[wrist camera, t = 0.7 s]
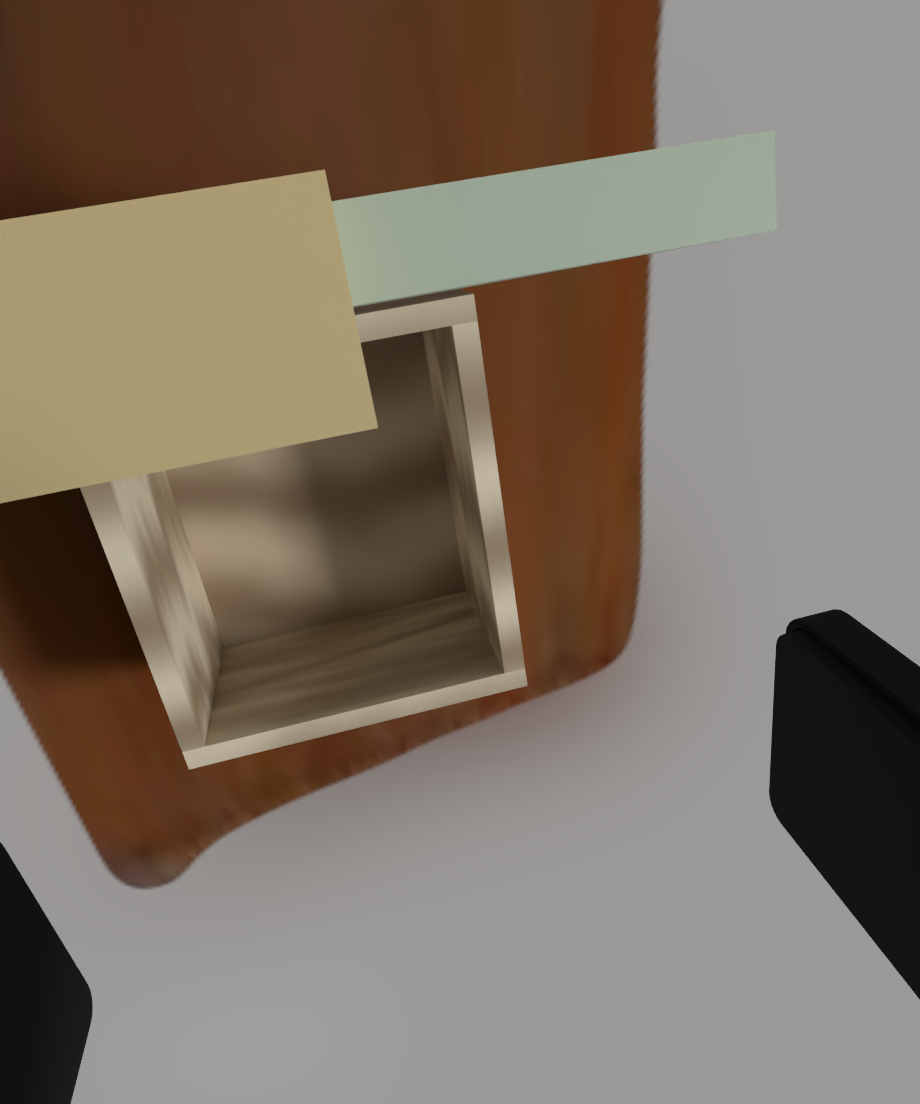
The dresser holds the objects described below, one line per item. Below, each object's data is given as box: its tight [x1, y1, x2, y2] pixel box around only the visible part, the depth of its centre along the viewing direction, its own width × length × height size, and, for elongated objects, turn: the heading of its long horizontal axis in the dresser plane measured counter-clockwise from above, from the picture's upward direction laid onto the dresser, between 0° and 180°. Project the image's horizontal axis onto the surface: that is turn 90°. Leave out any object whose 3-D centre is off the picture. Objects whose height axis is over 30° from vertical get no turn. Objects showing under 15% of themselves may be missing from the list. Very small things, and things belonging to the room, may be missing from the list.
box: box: [80, 289, 527, 769], centre depth 35 cm, size 18×16×10 cm
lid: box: [0, 130, 778, 503], centre depth 17 cm, size 20×17×3 cm
